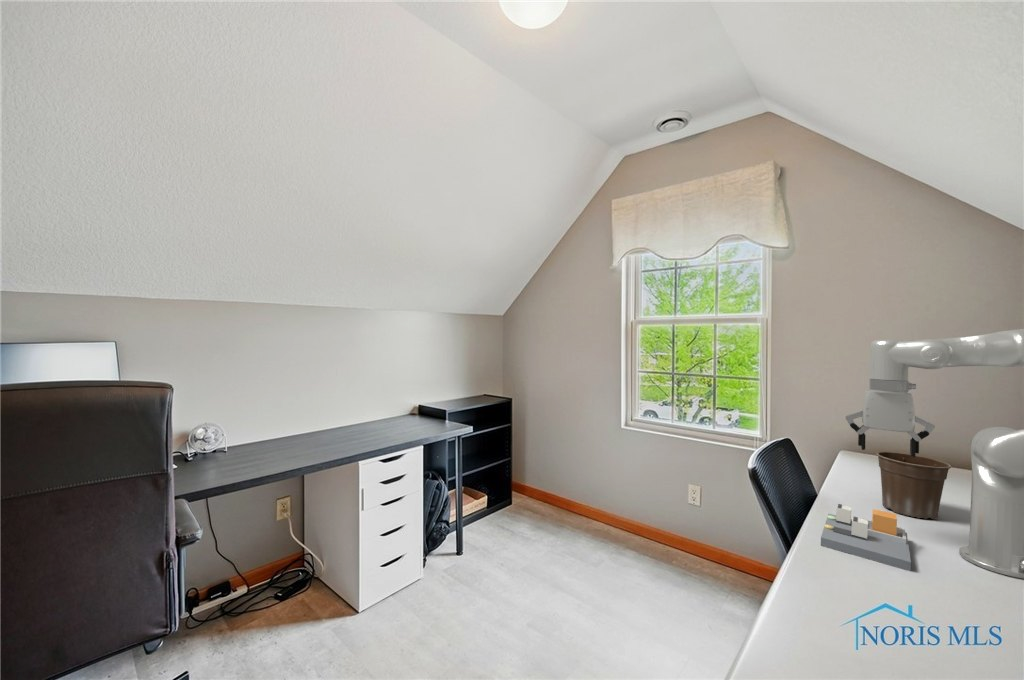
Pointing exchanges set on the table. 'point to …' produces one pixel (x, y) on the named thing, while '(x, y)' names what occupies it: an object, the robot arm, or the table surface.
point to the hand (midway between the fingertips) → (887, 452)
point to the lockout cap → (884, 522)
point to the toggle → (843, 513)
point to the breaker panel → (867, 543)
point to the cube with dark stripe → (859, 527)
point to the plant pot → (912, 483)
